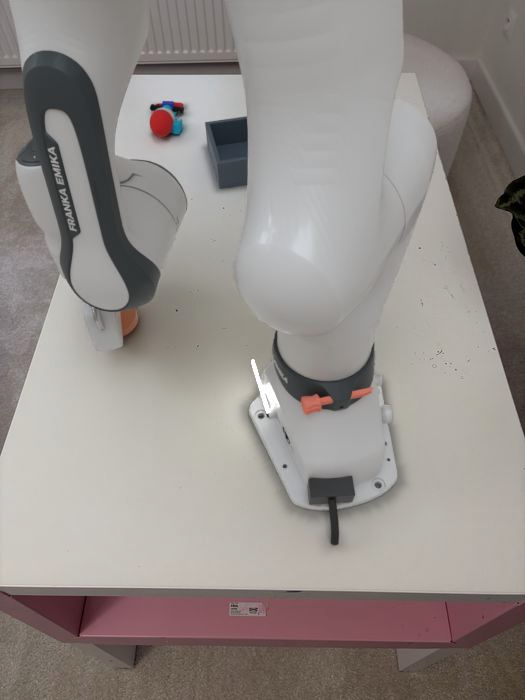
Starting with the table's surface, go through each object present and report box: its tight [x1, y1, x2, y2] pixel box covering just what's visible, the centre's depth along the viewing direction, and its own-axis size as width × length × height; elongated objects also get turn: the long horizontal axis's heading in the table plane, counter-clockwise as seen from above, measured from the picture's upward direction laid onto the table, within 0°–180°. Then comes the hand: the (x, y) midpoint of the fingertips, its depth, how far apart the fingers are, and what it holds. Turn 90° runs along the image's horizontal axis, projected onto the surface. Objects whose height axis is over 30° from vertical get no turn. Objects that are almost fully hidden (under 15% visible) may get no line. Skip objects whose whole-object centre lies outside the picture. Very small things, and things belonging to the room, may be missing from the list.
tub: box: [204, 115, 248, 190], centre depth 101 cm, size 14×14×6 cm
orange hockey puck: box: [120, 308, 139, 337], centre depth 79 cm, size 7×7×2 cm
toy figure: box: [149, 100, 185, 138], centre depth 109 cm, size 8×5×15 cm
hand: (114, 317), depth 79 cm, fingers closed on orange hockey puck, 7 cm apart
